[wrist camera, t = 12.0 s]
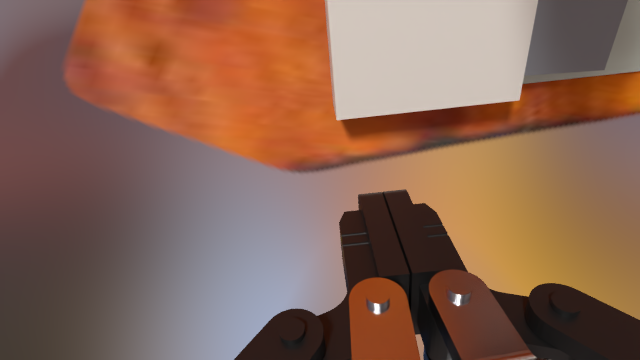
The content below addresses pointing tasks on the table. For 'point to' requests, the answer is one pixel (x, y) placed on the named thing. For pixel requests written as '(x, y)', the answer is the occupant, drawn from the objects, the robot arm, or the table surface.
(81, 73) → the table surface
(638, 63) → the mat
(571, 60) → the grey block
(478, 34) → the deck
